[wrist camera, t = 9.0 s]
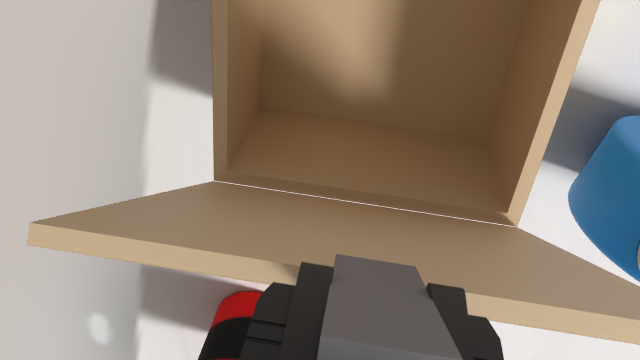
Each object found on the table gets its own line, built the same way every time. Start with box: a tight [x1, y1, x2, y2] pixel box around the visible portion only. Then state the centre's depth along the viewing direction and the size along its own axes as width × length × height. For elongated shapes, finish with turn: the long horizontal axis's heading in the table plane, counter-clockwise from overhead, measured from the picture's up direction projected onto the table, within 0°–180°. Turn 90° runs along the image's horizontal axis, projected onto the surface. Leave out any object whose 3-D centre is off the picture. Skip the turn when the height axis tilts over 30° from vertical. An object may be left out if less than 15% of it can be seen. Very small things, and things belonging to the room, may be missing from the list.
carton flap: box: [27, 181, 640, 360], centre depth 20 cm, size 24×18×2 cm
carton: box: [212, 0, 601, 226], centre depth 31 cm, size 18×18×10 cm
